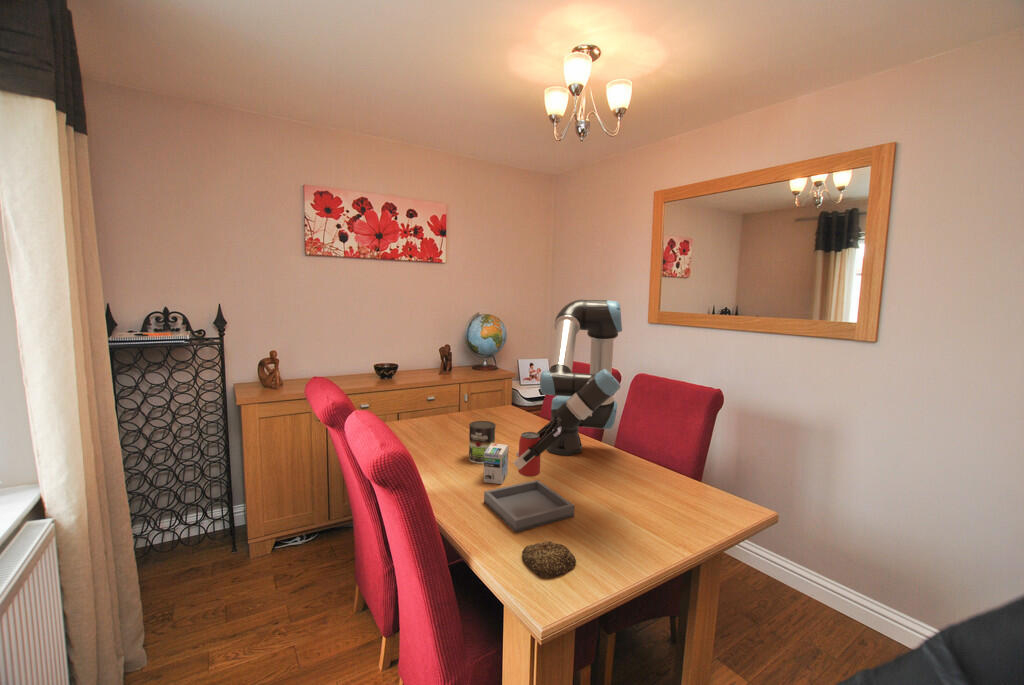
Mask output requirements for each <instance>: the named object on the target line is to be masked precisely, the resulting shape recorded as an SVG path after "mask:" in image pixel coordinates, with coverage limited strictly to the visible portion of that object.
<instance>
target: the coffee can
mask: <svg viewBox="0 0 1024 685" xmlns="http://www.w3.org/2000/svg"><path fill="white" fill-rule="evenodd" d="M468 436H469V442H468V446H469V447H468V449H469V450H468V460H469V462H471V463H473V464H478V465H484V452H485V451H486V450H487V448H488V447H489V446H490V444H491V443H495V444H496V423H494V422H492V421H489V420H475V421H472V422H469V434H468Z"/></svg>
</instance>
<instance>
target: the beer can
mask: <svg viewBox="0 0 1024 685" xmlns="http://www.w3.org/2000/svg"><path fill="white" fill-rule="evenodd" d="M539 440H540V437H539V434H538V433H537V432H532V431H526V432H522V433H521V434H520V438H519V441H518V451H519V457H520V456H521V455H522V454H523V453H525V452H526V451H527V450H528V447H530V448H532V447H533V446H534V445H535V444H536V443H537V442H538V441H539ZM541 455H542V453H541V454H540V455H539V456H538V457H537V456H535V457H534V458H533V459H531V460H530V461H529V462H528V463H527V464H526V465H525V466H523V467H522V468H521V469H520V470H519V469H518V468H517V469H518V473H519V474H520V475H521V476H523V477H527V478H528V477H529V478H532V477H536V476H538V475H540V473H541Z"/></svg>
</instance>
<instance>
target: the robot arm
mask: <svg viewBox="0 0 1024 685" xmlns="http://www.w3.org/2000/svg"><path fill="white" fill-rule="evenodd" d="M622 324H623V323H622V309H621V304H620V302H619V301H617V300H609V299H607V300H606V299H605V300H604V299H603V300H602V299H577V300H573V301H570V302H569V303H567V304H566V305H564V307H563V308H561V309H560V311H559V312H558V313H557V315H556V317H555V320H554V324H553V326H554V330H555V332H554V335H555V336H554V340H553V346H552V352H551V356H550V363H549V368H548V370H544V371H542V372H541V373H540V377H539V389H540V390H539V391H540V392H541V394H543V395H548V396H554V397H553V398H552V400H551V407H550V410H551V415H550V421H548V423H547V424H545V425H544V426H543V427H541V428H540V429H539V430H538V431H537V432H536V433H538V434H539V437H540V440H539V441H538V442H537V443H536V444H535V445H534V446H533V447H532V448H530V447H528V450H527V451H526V452H525V453H523V454H522V455H521V456H520V457H519V450H517V452H516V453H515V455H516V456H517V459H516V460H514V462H512V463H513V465H514V466H515V467H516V468H517V469H519V470H520V469H521V468H522V467H523V466H525V465H526V464H527V463H528V462H529V461H530V460H531V459H533V458H534V457H535V456H537V457H538V456H539V455H540V454H541V455H542V453H544V451H547V452H549V453H551V454H553V455H558V456H575V455H578V454H580V453H581V452H582V451H583V450H582V449H583V444H582V440H581V437H580V433H579V428H589V429H599V430H604V429H605V430H610V429H612V428H613V427H614V425H615V421H616V417H617V411H618V402H617V401H615V398H614V395H615V394H616V393H617V392H618V391H619V390H620V389H621V384H620V382H619V381H618V380H617V379H616V378H615V376H614V375H612V373H613V372H612V371H613V370H612V369H613V356H614V355H613V354H614V353H613V352H614V343H615V342H614V340H615V339H616V338H618V336H619V333H621V332H622V331H623V325H622ZM580 331H587V334H586V335H587V336H588V337H589V338H590V339H591V340H590V362H589V373H584V372H583V373H581V372H580V373H578V372H573V364H574V359H575V358H574V357H575V348H576V341H577V334H578V333H579V332H580Z"/></svg>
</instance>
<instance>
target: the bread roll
mask: <svg viewBox="0 0 1024 685" xmlns="http://www.w3.org/2000/svg"><path fill="white" fill-rule="evenodd" d="M521 553H522V554H521V555H522V560H523V562H524V563H525V565H527V567H528V568H529V569H531V570H532V571H533V572H535V574H536V575H537V576H538V577H541V578H543V579H544V578H546V579H547V578H556V577H559V576H562V575H565V574H566V573H567V572H569V571H571V570H573V569H574V568H575V565H576V563H577V559H576V557H575V555H574V554H573V553H572V552H571V550H570V549H569V548H568V547H567V546H565V545H564V544H562V543H555V542H553V541H552V540H549V541H543V542H538V543H535V544H527V545H526V546H525V547H524V548H523V550H522V551H521Z"/></svg>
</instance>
